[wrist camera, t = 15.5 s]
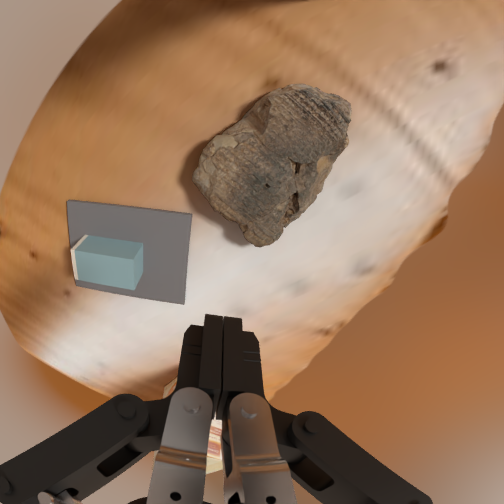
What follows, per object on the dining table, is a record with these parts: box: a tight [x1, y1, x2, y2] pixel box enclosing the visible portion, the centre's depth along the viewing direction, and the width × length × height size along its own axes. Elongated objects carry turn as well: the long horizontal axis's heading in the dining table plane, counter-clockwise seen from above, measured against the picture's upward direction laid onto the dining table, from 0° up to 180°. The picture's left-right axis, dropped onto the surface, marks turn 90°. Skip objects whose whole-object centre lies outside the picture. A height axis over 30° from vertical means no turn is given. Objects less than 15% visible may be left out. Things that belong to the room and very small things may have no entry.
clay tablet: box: [192, 84, 351, 247], centre depth 30 cm, size 14×5×20 cm
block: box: [71, 235, 143, 290], centre depth 34 cm, size 4×4×9 cm
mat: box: [67, 200, 192, 305], centre depth 37 cm, size 14×18×1 cm
